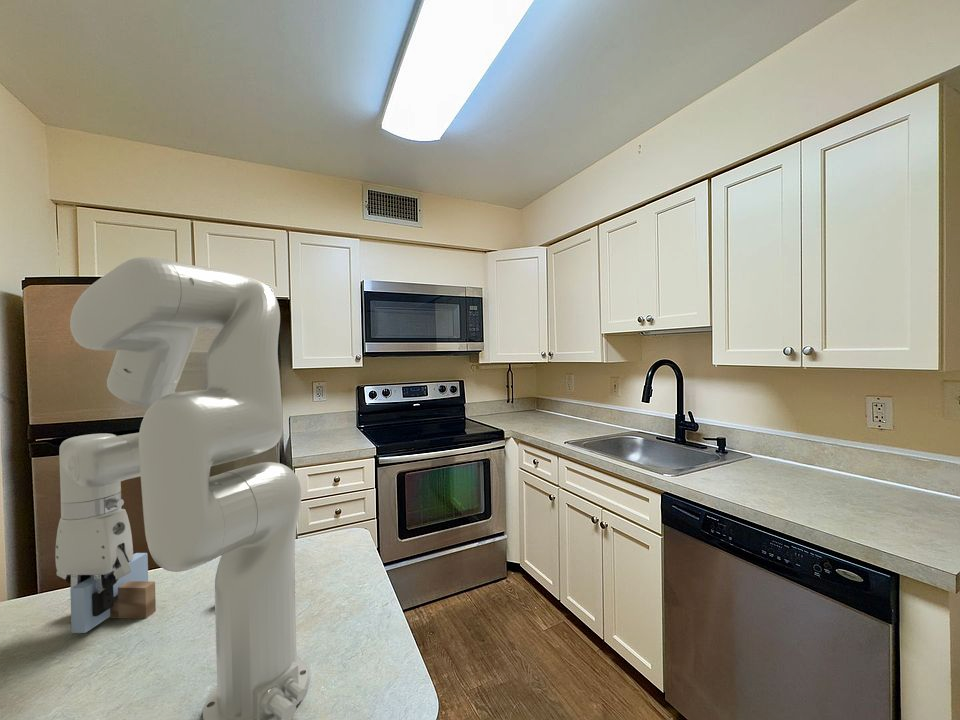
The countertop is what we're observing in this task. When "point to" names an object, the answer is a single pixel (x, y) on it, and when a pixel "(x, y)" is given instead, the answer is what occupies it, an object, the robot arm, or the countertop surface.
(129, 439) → the robot arm
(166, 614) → the countertop surface
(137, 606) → the walnut slot plate
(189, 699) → the countertop surface
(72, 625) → the blue slot plate
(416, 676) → the countertop surface
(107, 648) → the countertop surface
